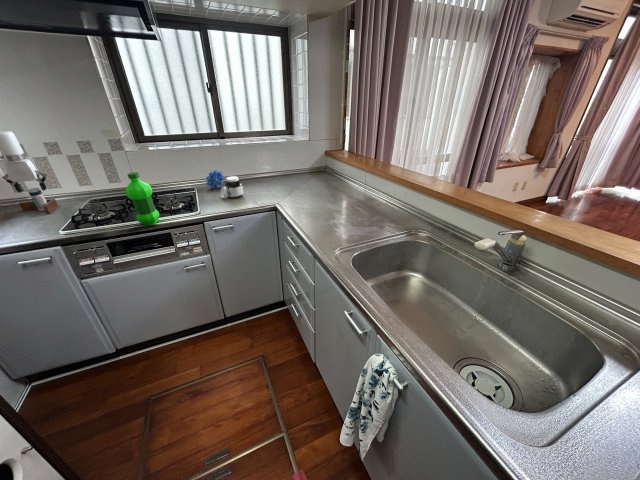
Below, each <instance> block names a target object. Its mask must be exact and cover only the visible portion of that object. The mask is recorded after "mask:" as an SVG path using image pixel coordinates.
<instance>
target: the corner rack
mask: <svg viewBox="0 0 640 480" xmlns="http://www.w3.org/2000/svg"><path fill="white" fill-rule="evenodd" d="M45 199H46V201H47V204H45V205H44V206H43V207H44V208H45V210H46V211H45V212H46V213H47V215H49V214H50V215H51V213H53V212H54V211H55V210H56V209H57V208H59V204H58V202H57V200H56V199H55V198H45ZM18 204H19V206H20V208H21V209H22V211H25V212H26V211H32V210H38V208H37V206H36V205H35V203H34V201H33V200H29V201H20V202H18Z"/></svg>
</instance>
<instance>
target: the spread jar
mask: <svg viewBox="0 0 640 480" xmlns="http://www.w3.org/2000/svg"><path fill="white" fill-rule="evenodd" d="M243 195H244V188H243V184H242V182H241V181H240V180H239V177H238V176H236V175H234V176H228V177H226V181H225V182H224V186H222V187H221V189H220V197H221V199H226V198H227V197H228V198H230V199H239V198H241V197H242V196H243Z"/></svg>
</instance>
